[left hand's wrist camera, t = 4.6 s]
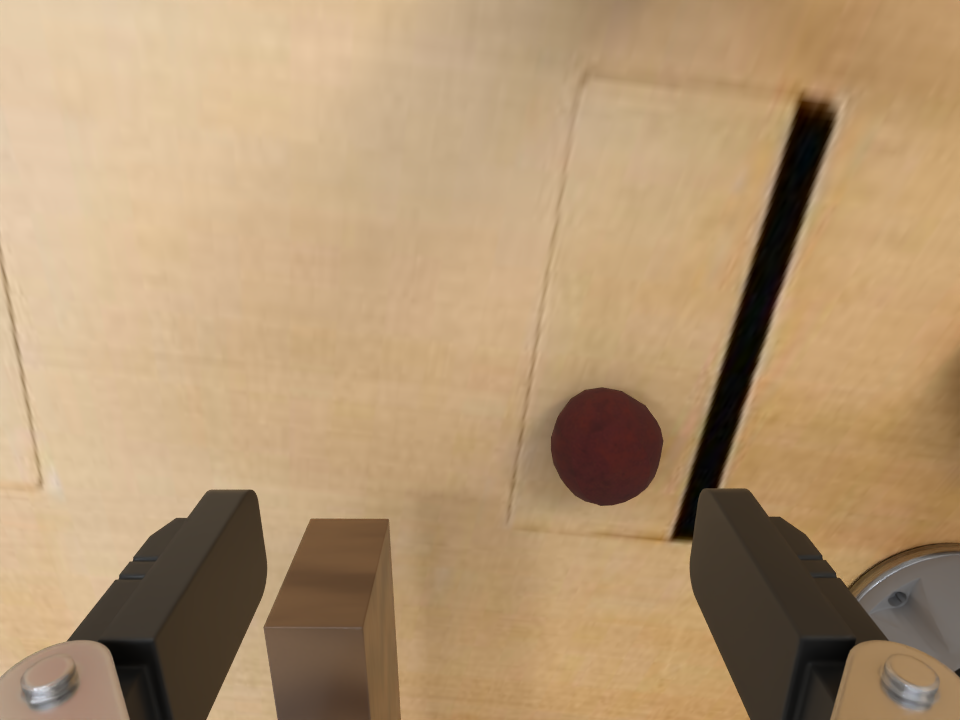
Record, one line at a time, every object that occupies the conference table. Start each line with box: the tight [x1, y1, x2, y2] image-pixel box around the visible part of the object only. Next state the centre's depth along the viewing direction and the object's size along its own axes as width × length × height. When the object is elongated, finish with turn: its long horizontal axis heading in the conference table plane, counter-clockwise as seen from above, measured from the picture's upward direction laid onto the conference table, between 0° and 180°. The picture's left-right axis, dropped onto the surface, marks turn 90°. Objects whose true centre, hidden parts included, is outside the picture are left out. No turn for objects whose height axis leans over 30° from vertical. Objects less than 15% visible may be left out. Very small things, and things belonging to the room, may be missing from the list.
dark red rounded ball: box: [551, 388, 663, 506], centre depth 42 cm, size 7×8×7 cm
